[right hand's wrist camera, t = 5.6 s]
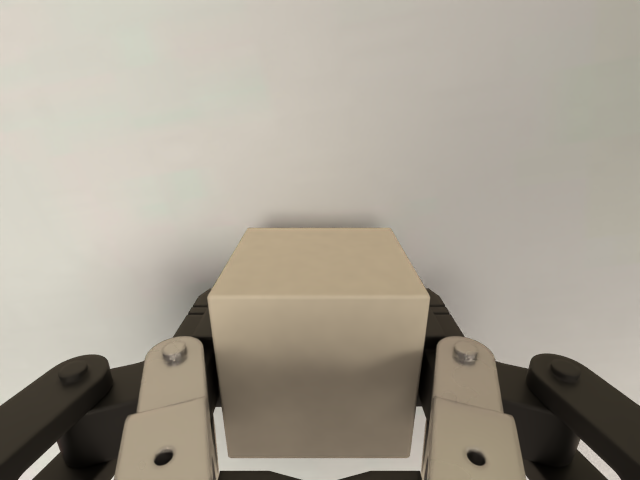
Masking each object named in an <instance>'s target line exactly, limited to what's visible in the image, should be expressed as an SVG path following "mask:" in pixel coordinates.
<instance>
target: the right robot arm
mask: <svg viewBox="0 0 640 480" xmlns="http://www.w3.org/2000/svg"><path fill="white" fill-rule="evenodd" d="M425 289H426V290H427V292H428V294H429V296H430V303H429V310H428V318H427V326H426V334H425V341H424V349H423V357H422V365H421V372H420V380H419V388H418V396H417V403H416V406H422V407H423V410H424V413H425V416H426V424H425V433H424V444H423V455H422V466H421V473H420V471H369V472H365V473H361V474H358V475H354V476H350V477H347V478H343V479H339V480H526V476H527V477H528V479H529V480H608V479H607V478H606V477H605V476H604V475H603V474H602V473H601V472H600V471H598V470H597V469H596V468H595V467H594V466H593V465H592V464H591V463H590V462H589V461H588V460H587V459H586V458H585V457H584V456H583V455H582V454H581V453H580V452H579V451H578V450H577V447H578V444H579V441H580V439H581V440H582V441H584V442H585V443H586V444H587V445H588V446H589V447H590V448H591V449H592V450H593V451H594V452H595V453H596V454H597V455H598V456H599V457H601V458H602V459H603V460H604V461H605V462H606V463H607V464H608V465H609V466H610V467H611V468H612V469H613V470H614V471H615V472H616V473H617V474H618V476H619V477H620V479H621V480H640V406H639V405H638V404H636V403H635V402H634V401H632V400H631V399H629V398H628V397H627V396H625V395H624V394H623V393H621V392H620V391H618V390H617V389H616V388H614V387H613V386H611V385H610V384H609V383H607V382H606V381H605V380H603V379H602V378H600V377H599V376H598V375H596V374H595V373H594V372H592V371H591V370H589V369H588V368H587V367H585V366H584V365H582V364H580V363H578V362H577V361H574V360H572V359H570V358H567V357H564V356H560V355H556V354H539V355H536V356H534V357H533V358H532V359H531V361H530V365H529V369H527V368H522V367H518V366H513V365H508V364H504V363H500V362H496V361H495V357H494V355H493V353H492V352H491V351H490V350H489V349H488V348H487V347H486V346H484V345H483V344H481V343H480V342H478V341H475V340H473V339H470V338H466V337H464V335H463V334H462V332H461V330H460V329H459V327H458V326H457V324H456V322H455V321H454V319H453V318H452V316H451V315H450V314H449V311H448V309H447V308H446V307H445V305H444V303H443V301H442V300H441V298H440V297H439V296H438V295H437V294H435V293H434V292H433V291H431V290H430V289H428V288H425ZM210 291H211V289H209V290H207V291H206V292H204V293H203V294H202V295H200V296H199V297H198V299H197V300H196V302H195V303H194V305H193V307H192V308H191V310H190V311H189V313H188V315H187V316H186V318H185V319H184V321H183V322H182V324H181V325H180V327H179V329H178V330H177V332H176V333H175V335H174V336H173V338H170V339H167V340H165V341H162V342H160V343H159V344H157V345H156V346H154V347H153V348H152V349H151V350H150V351H149V352H148V353H147V355H146V357H145V361H142V362H140V363H136V364H132V365H127V366H122V367H118V368H113V369H110V367H109V363H108V360H107V359H106V358H105V357H103V356H100V355H83V356H78V357H75V358H72V359H69V360H67V361H64V362H62V363H60V364H58V365H57V366H55V367H53V368H52V369H51V370H49V371H48V372H46V373H45V374H44V375H42V376H41V377H40V378H38V379H37V380H35V381H34V382H33V383H31V384H30V385H28V386H27V387H26V388H24V389H23V390H22V391H20V392H19V393H17V394H16V395H15V396H13V397H12V398H11V399H9V400H8V401H6V402H5V403H4V404H2V405H1V406H0V480H18V479H19V477H20V476H21V475H22V474H23V473H24V472H25V471H26V470H27V469H28V468H29V467H30V466H31V465H32V464H33V463H34V462H35V461H36V460H37V459H38V458H39V457H41V456H42V455H43V454H44V453H45V452H46V451H47V450H48V449H49V448H50V447H51V446H52V445H53V444H54V443H55V442H56V441H57V443H58V446H59V449H60V451H61V452H60V453H59V454H58V455H57V456H56V457H55V458H54V459H53V460H52V461H51V462H50V463H49V464H48V465H47V466H46V467H45V468H44V469H43V470H41V471H40V472H39V473H38V474H37V475H36V476H35V477H34V478H33V479H32V480H111V479H112V477H113V476H114V475H115V476H114V480H301V479H297V478H293V477H290V476H286V475H282V474H279V473H275V472H271V471H220V473H219V466H218V455H217V444H216V433H215V424H214V417H213V412H214V409H215V407H222V405H221V397H220V390H219V382H218V375H217V367H216V360H215V352H214V344H213V337H212V329H211V322H210V314H209V307H208V299H207V297H208V295H209V293H210ZM525 475H526V476H525Z"/></svg>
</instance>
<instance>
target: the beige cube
mask: <svg viewBox="0 0 640 480" xmlns="http://www.w3.org/2000/svg"><path fill="white" fill-rule="evenodd" d="M207 299H208V307H209V314H210V322H211V329H212V337H213V344H214V352H215V360H216V367H217V375H218V382H219V390H220V397H221V405H222V412H223V420H224V427H225V435H226V442H227V450H228V456H229V457H230V458H408V457H409V456H410V450H411V442H412V434H413V427H414V419H415V411H416V403H417V396H418V388H419V380H420V372H421V365H422V357H423V349H424V341H425V334H426V326H427V318H428V310H429V303H430V296H429V294H428V292H427V290H426V289H425V287H424V285H423V283H422V282H421V280H420V278H419V276H418V275H417V273H416V271H415V270H414V268H413V266H412V264H411V263H410V261H409V259H408V257H407V256H406V254H405V252H404V250H403V249H402V247H401V245H400V244H399V242H398V240H397V238H396V237H395V235H394V233H393V231H392V230H391V228H248V229H247V230H246V232H245V234H244V235H243V237H242V239H241V240H240V242H239V244H238V245H237V247H236V249H235V251H234V252H233V254H232V256H231V257H230V259H229V261H228V262H227V264H226V266H225V267H224V269H223V271H222V273H221V274H220V276H219V278H218V279H217V281H216V283H215V284H214V286H213V288H212V289H211V291H210V293H209V295H208V297H207Z"/></svg>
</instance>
